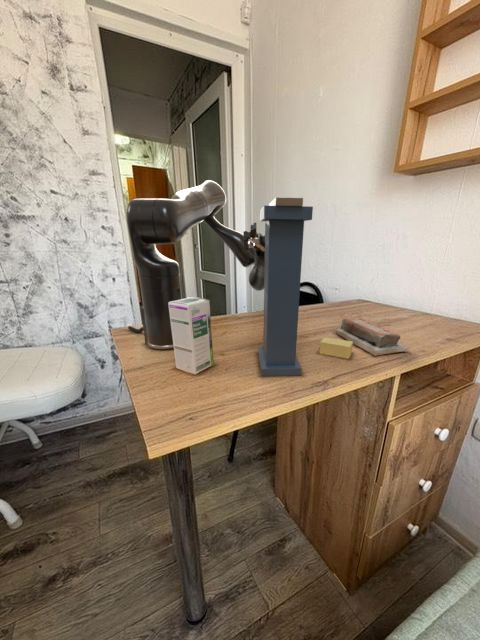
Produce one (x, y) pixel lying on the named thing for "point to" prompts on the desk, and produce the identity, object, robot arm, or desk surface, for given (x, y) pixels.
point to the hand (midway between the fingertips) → (272, 226)
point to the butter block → (336, 347)
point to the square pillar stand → (282, 287)
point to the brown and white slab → (287, 201)
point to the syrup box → (191, 334)
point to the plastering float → (370, 336)
